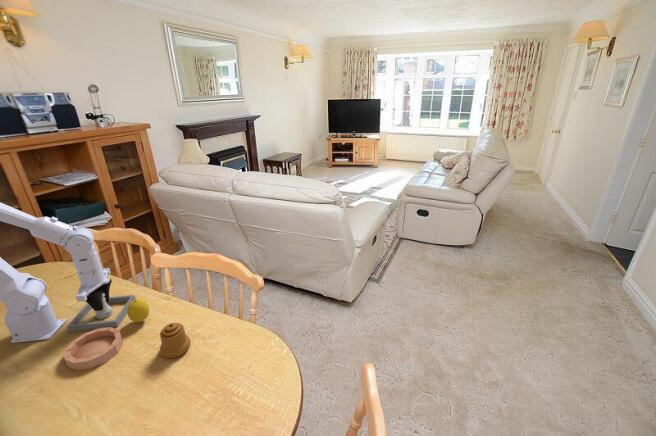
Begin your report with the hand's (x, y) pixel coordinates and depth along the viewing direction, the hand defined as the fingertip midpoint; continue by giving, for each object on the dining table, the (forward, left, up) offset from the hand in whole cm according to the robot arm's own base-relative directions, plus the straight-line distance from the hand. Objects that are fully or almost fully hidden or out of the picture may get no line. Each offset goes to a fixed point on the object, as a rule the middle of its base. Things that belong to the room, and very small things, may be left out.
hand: (102, 306), depth 93 cm
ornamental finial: (+26, -18, -4) cm, 32 cm away
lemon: (+12, -5, -3) cm, 14 cm away
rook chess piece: (0, 0, -3) cm, 3 cm away
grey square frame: (0, 0, -3) cm, 3 cm away
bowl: (+5, -15, -3) cm, 17 cm away
